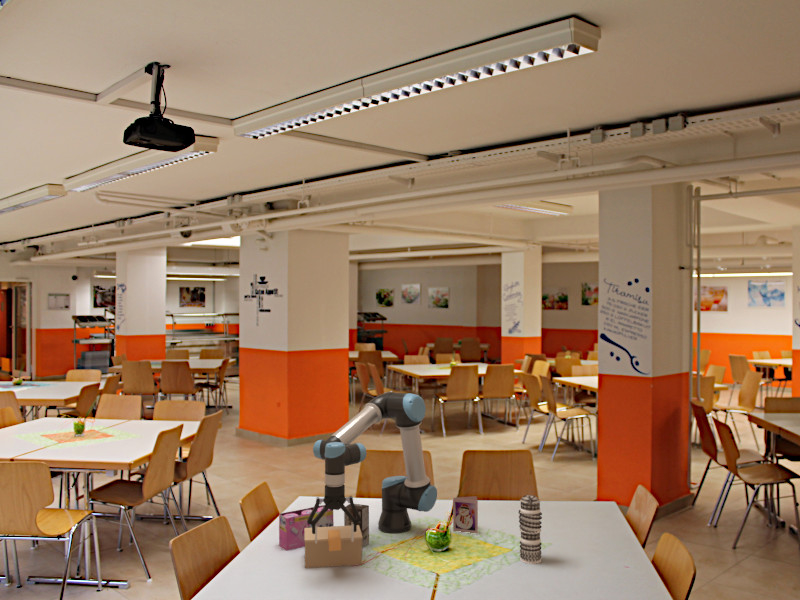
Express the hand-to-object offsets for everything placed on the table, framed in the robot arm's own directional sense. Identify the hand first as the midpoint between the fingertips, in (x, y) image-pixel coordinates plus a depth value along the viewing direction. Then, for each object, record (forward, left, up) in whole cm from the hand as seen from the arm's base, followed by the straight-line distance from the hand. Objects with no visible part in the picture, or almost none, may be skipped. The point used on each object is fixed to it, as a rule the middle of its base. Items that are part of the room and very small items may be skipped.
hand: (334, 541), depth 239 cm
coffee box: (-11, -32, -13) cm, 36 cm away
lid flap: (0, -10, -2) cm, 10 cm away
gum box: (+10, -37, -13) cm, 40 cm away
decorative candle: (-78, -3, -13) cm, 79 cm away
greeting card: (-62, -41, -13) cm, 75 cm away
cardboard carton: (0, -16, -13) cm, 20 cm away
